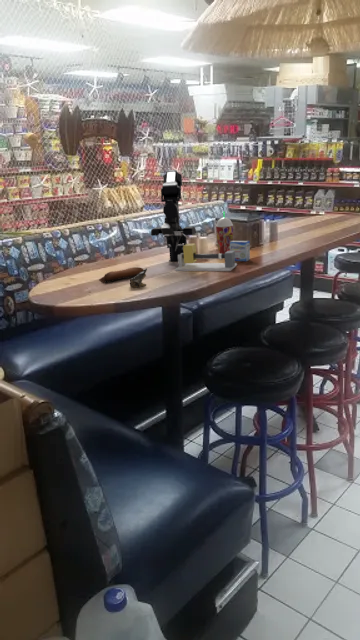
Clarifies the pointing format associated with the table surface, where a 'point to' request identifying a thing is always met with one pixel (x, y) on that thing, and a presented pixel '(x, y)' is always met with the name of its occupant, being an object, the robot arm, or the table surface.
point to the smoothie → (224, 234)
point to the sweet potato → (121, 274)
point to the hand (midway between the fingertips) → (174, 251)
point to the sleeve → (189, 253)
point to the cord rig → (226, 266)
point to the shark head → (138, 279)
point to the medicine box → (241, 250)
